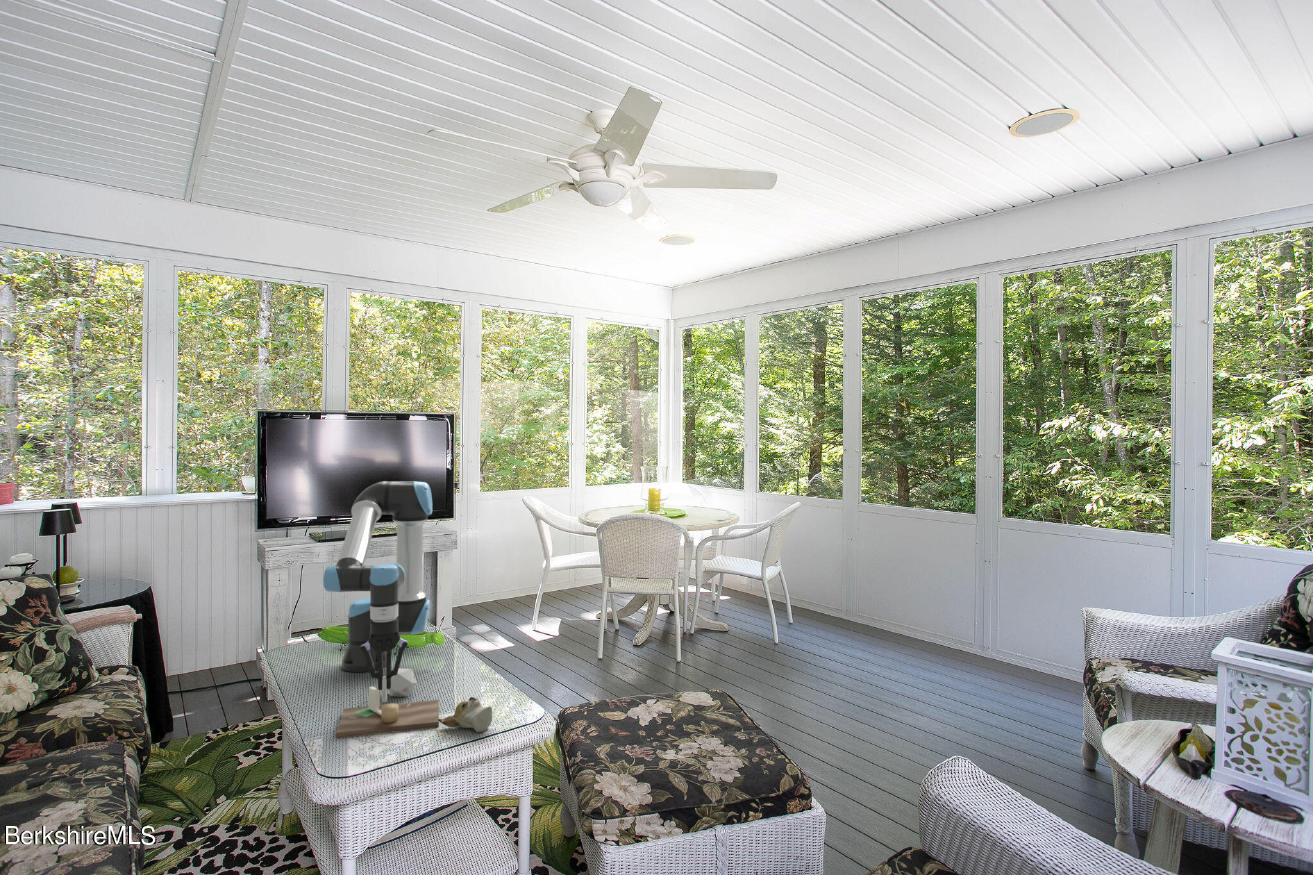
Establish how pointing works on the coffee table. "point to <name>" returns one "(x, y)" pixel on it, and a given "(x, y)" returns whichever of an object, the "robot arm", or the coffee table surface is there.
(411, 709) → the dial plate
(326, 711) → the coffee table surface
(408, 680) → the die
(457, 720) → the ceramic sculpture
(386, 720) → the knob lever
